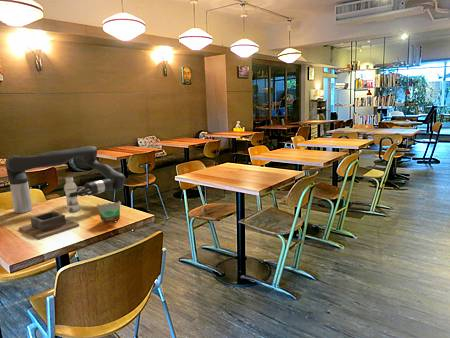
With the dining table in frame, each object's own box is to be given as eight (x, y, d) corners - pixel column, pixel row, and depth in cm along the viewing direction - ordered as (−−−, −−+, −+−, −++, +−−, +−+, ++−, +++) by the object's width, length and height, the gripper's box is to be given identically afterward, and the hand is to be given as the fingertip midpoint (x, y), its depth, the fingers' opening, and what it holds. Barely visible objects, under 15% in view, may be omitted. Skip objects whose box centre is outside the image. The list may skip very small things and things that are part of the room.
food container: (100, 225, 175) (98, 207, 173) (98, 222, 181) (96, 204, 179) (124, 221, 181) (123, 203, 179) (122, 217, 186) (120, 200, 184)
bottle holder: (18, 229, 174) (17, 218, 173) (57, 218, 189) (56, 207, 188) (39, 239, 161) (37, 226, 159) (79, 225, 176) (77, 214, 175)
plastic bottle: (75, 214, 187) (71, 179, 183) (64, 214, 189) (59, 178, 185) (82, 210, 194) (78, 176, 189) (71, 210, 195) (67, 176, 191)
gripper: (87, 179, 203) (59, 186, 191) (101, 183, 195) (73, 189, 182) (88, 192, 205) (61, 199, 192) (102, 195, 196) (74, 203, 183)
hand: (67, 194), depth 187 cm, fingers closed on plastic bottle, 6 cm apart
